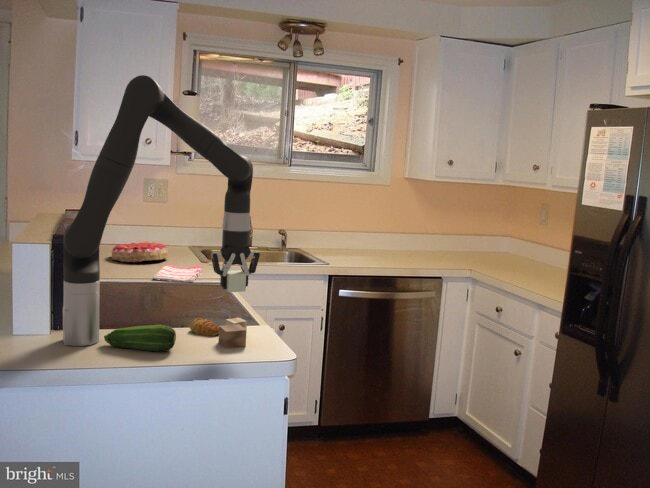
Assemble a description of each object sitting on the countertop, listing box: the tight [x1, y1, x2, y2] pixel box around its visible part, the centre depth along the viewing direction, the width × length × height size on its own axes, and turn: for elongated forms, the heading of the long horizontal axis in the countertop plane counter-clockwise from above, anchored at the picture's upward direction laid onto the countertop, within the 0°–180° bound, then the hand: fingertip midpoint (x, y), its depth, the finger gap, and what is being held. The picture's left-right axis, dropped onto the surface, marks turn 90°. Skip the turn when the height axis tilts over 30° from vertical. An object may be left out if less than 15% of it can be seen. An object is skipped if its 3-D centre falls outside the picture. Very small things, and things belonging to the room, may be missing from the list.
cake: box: [111, 241, 169, 264], centre depth 305 cm, size 25×25×8 cm
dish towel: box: [152, 264, 203, 283], centre depth 275 cm, size 17×23×4 cm
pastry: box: [189, 317, 220, 337], centre depth 197 cm, size 9×7×4 cm
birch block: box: [225, 317, 248, 332], centre depth 197 cm, size 4×4×4 cm
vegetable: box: [103, 324, 177, 353], centre depth 179 cm, size 7×7×20 cm
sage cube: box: [223, 269, 247, 293], centre depth 185 cm, size 5×5×5 cm
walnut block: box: [218, 324, 247, 350], centre depth 187 cm, size 6×6×5 cm
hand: (234, 288), depth 185 cm, fingers closed on sage cube, 5 cm apart
